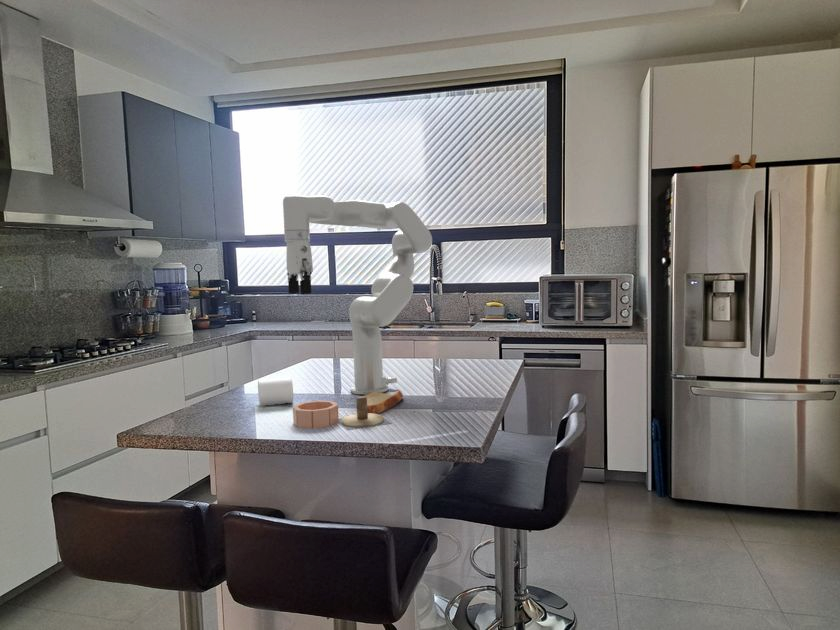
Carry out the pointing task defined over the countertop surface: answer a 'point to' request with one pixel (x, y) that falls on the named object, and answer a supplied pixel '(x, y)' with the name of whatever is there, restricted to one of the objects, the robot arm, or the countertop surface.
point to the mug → (275, 391)
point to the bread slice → (382, 401)
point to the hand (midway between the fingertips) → (299, 293)
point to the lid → (362, 415)
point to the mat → (363, 427)
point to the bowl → (315, 414)
